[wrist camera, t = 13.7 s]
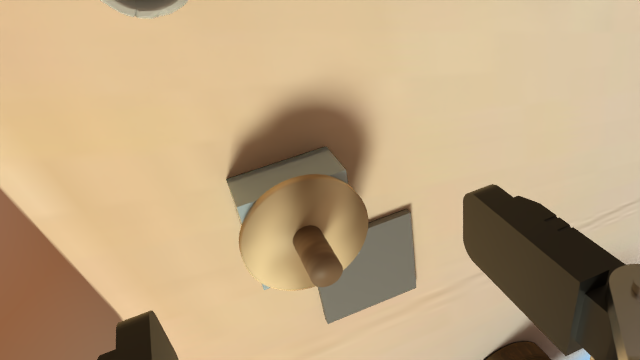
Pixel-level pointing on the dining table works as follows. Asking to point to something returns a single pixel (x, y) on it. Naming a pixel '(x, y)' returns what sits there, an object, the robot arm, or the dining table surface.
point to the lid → (303, 232)
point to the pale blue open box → (281, 177)
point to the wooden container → (519, 352)
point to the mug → (145, 7)
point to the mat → (374, 269)
